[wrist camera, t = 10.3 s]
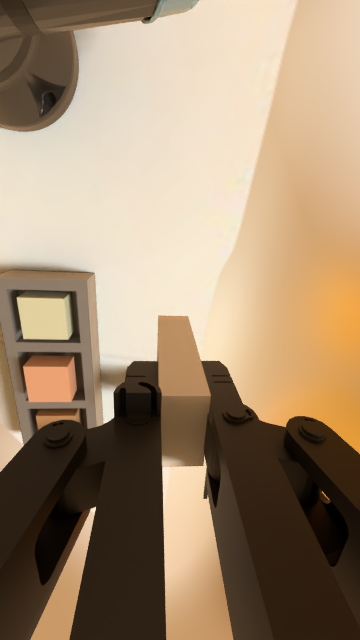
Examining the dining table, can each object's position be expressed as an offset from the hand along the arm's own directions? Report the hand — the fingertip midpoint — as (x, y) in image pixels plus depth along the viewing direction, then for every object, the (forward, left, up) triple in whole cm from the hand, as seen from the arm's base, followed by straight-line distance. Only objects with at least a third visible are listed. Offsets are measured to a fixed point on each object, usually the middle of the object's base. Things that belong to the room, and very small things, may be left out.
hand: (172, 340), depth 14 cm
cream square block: (+8, -16, -27) cm, 32 cm away
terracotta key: (+18, -16, -26) cm, 35 cm away
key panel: (+18, -16, -29) cm, 38 cm away
